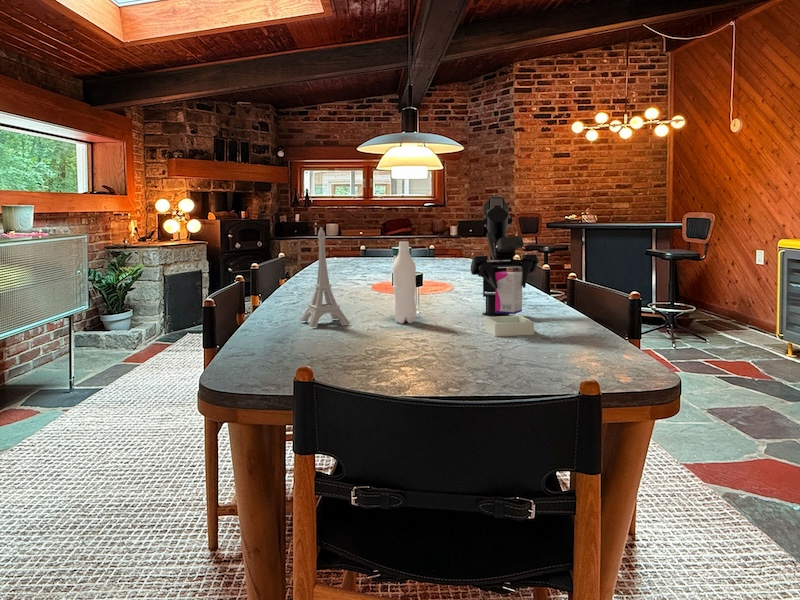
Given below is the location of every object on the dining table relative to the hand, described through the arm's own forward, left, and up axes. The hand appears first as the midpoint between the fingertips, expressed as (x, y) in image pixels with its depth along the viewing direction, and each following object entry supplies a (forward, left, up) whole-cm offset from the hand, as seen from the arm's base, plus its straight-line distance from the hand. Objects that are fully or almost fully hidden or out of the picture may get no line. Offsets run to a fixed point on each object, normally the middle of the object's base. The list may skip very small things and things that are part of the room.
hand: (510, 287), depth 177 cm
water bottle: (-33, -11, -13) cm, 37 cm away
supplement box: (-1, +1, -7) cm, 7 cm away
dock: (-1, +1, -13) cm, 13 cm away
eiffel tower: (-48, -32, -13) cm, 59 cm away
